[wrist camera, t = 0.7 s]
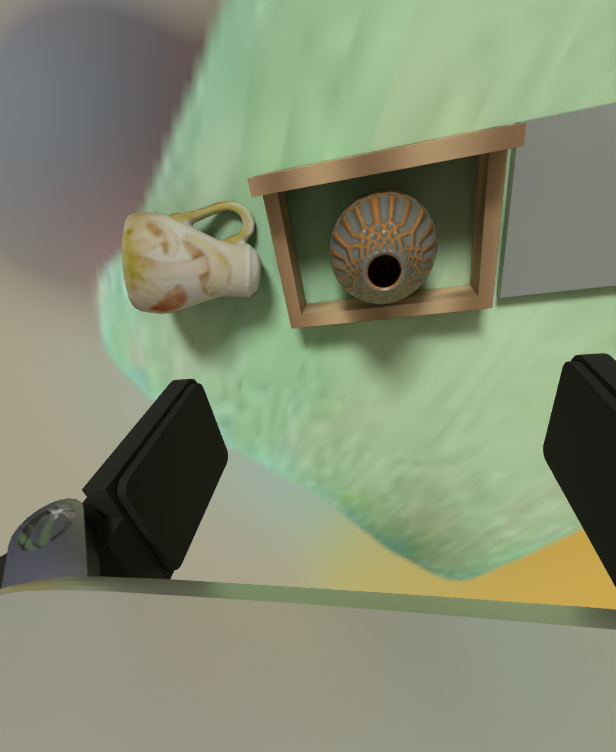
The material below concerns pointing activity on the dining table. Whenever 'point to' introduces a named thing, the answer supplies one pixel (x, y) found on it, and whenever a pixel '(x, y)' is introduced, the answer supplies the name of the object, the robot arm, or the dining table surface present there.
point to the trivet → (561, 205)
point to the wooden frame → (481, 142)
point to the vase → (383, 246)
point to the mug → (186, 260)
